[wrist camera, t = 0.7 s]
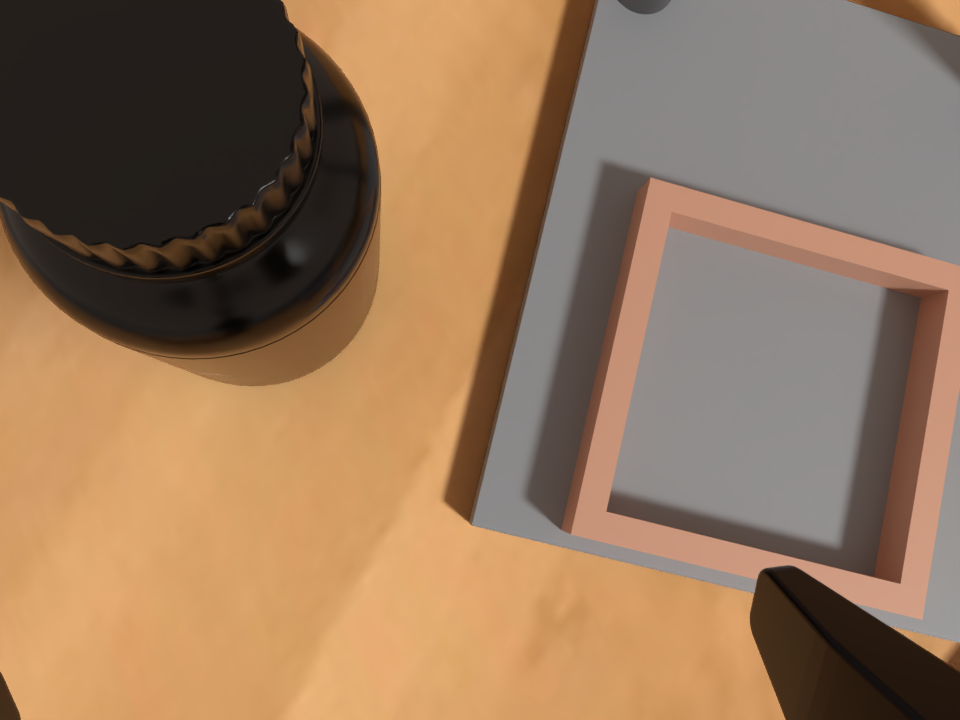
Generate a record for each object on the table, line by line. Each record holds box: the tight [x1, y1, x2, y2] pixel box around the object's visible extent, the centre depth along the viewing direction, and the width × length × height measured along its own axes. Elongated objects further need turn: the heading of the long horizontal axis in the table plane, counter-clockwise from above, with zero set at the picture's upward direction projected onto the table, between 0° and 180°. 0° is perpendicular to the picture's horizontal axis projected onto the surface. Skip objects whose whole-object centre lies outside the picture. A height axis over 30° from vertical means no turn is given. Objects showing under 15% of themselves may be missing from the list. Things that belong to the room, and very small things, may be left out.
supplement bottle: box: [0, 0, 381, 386], centre depth 17 cm, size 7×7×12 cm
